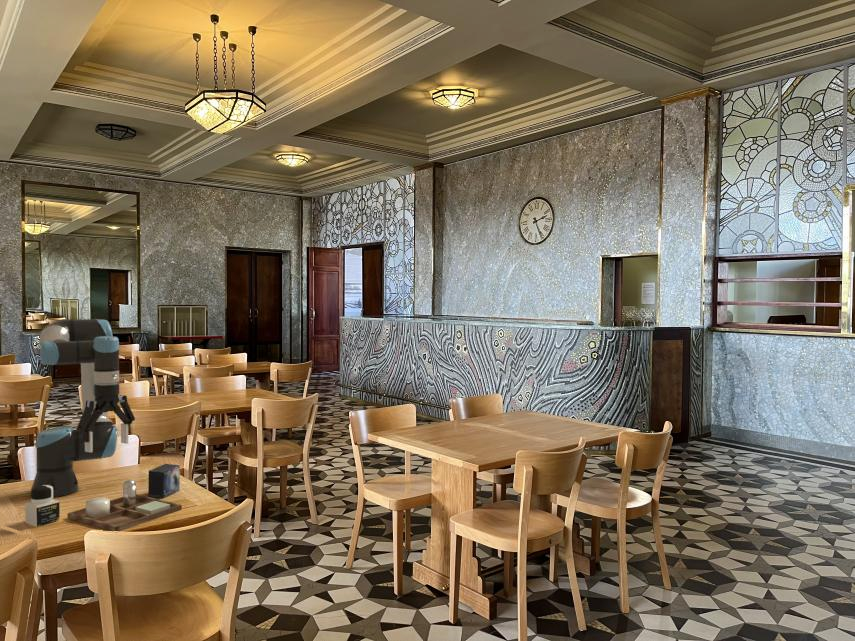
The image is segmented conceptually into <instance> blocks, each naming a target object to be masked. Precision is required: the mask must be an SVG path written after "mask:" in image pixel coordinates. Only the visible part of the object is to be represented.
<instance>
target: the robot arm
mask: <svg viewBox="0 0 855 641" xmlns="http://www.w3.org/2000/svg"><path fill="white" fill-rule="evenodd" d="M119 340H120V339H119V338H118V337H117V336H113V330H112V327H111V324H110V322H109V321H108V320H106V319H97V318H90V319H85V318H84V319H62V320H61V319H60V320H56V321H54V322H51V323H48V325H46V326H44V328H43V329H41V331H40V332H39V342H40V348H39V350H40V355H39V356H40V363H41V364H42V365H47V366H49V365H51V366H55V365H71V364H73V365H74V364H80V375H81V377H80V378H81V382H80V383H81V400H82V401H81V402H82V403H81V405H82V415H81V417H80V419H79V422H78V424H77V426H76V429H74V427H73V426H72V425H66V426H64V425H62V426H61V425H60V426H56V427H55V426H54V427H52V428H51V427H50V428H47V429H44V430H43V431H40V432H39V433H38V434H37V435H36V444H35V448H36V474H35V476H34V480H33V482H32V485H31V487H30V488H31V489H30V491H31V490H32V489H33V488H34V487H37V486H41V485H49V486H52V487H53V498H56V497H63V496H67V495H71V494H73V493H76V492H78V491H79V482H78V478H77V476H76V473H75V471H74V462H83V461H93V460H97V459H98V460H102V459H108V458H111V457H113V456H114V455H115V453H116V449H117V443H118V436H119V435H118V426H116V425H113V424H114V422H113V420H112V419H110V417H109V412H113V413H114V414H115V415H116V416H117V417H118V419H120V421H121V422H122V423H120V444H125V445H127V444H129V433H130V430H131V428H130V427H131V425H132V424H133V422H134V421H135V420H136V418H135V415H134V413H133V411H132V409H131V407H130V405H129V403H128V397H127V395H122V394H120V383H119V382H120V349H121V348H120V341H119ZM118 403H119V404H118Z"/></svg>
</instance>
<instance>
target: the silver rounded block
mask: <svg viewBox="0 0 855 641" xmlns="http://www.w3.org/2000/svg"><path fill="white" fill-rule="evenodd" d="M110 500H111V499H110V497H109V498H108V497H104V496H103V497H93V498H90V499H87V500H86V501H85V508H86V517H88V518H91V519H95V518H98V517H101V516H104V515H107V514H110Z"/></svg>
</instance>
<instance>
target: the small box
mask: <svg viewBox="0 0 855 641" xmlns="http://www.w3.org/2000/svg"><path fill="white" fill-rule="evenodd" d="M180 478H181V476H180V465H179V464H171V463H163V464H162V465H159V466H156V467H155V468H152V469H149V470H148V479H147V480H148V481H147V482H148V489H147V490H148V491H147V492H148V494H147V497H150V498H155V499H159V500H161V499H162V500H164V499H165V498H168V497H170V496H172V495H174V494H176V493H178V492H180V490H181V489H180V484H181V483H180V480H181V479H180Z"/></svg>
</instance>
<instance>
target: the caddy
mask: <svg viewBox="0 0 855 641" xmlns="http://www.w3.org/2000/svg"><path fill="white" fill-rule="evenodd" d="M153 501H158V502H162V503H166V504H170V508H168V509H165V510H162V511H159V512H156V513H153V514H151V515H150V514H146V513H142V512H138V511H136V507H137V506H141V505H144V504H147V503H150V502H153ZM182 506H183V505H182V504H179V503H175V502H171V501H167V500H164V499H162V500H161V499H159V498H150V497H148V496H147V495H141V494H137V493H136V505H135V506H132V507H129V508H125V507H123V496H121V497H118V498H114V499H110V514H107V515H104V516H101V517H98V518H95V519H91V518H88V517H86V507H85V508H81V509H78V510H74V511H70V512H68V513H67V519H69V520H73V521H74V522H75V521H76V522H79V523H82V524H86V525H89V526H93V527H95V528H101V529H104V530H108V531H110V530H114V531H119V532H122V531H124V530H127V529H131V528H134V527H136V526H140V525H141V524H146V523H148V522H150V521H154V520H156V519H159V518H162V517H164V516H167V515H168V516H169V515H171V514H174V513H176V512H179V511H182V509H183V508H182ZM114 531H113V532H114Z"/></svg>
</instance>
